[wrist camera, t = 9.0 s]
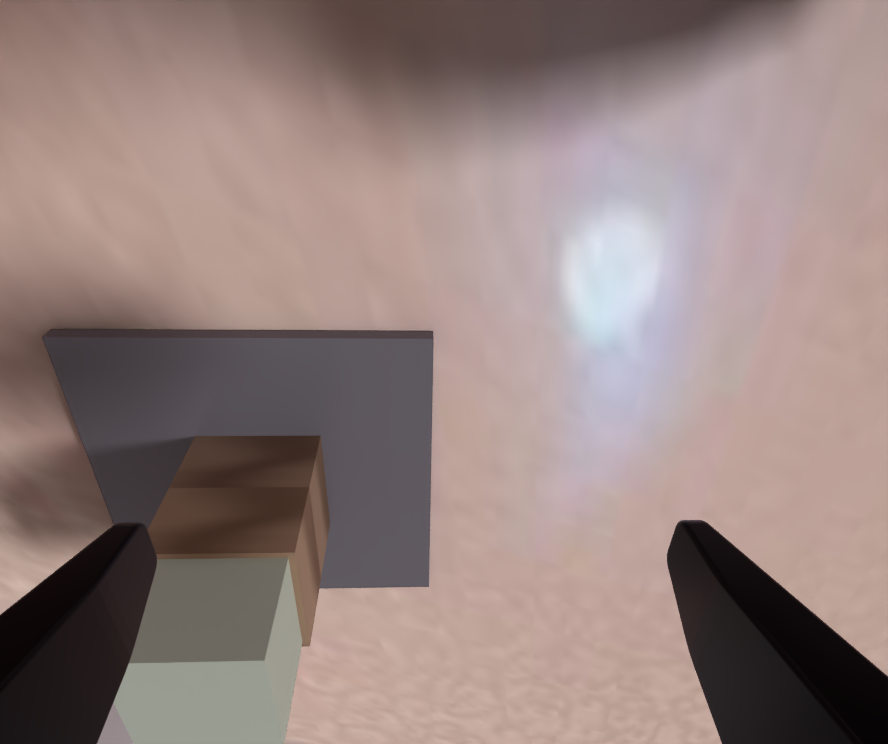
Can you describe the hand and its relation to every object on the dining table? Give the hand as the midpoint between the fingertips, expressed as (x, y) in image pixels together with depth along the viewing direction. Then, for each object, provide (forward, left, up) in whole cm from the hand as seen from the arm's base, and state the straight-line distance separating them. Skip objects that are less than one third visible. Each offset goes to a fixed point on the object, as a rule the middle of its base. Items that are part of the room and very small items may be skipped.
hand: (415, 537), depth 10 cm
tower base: (+6, +10, -12) cm, 17 cm away
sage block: (+6, +10, -6) cm, 13 cm away
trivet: (+6, +10, -13) cm, 17 cm away
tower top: (+6, +10, -9) cm, 15 cm away
